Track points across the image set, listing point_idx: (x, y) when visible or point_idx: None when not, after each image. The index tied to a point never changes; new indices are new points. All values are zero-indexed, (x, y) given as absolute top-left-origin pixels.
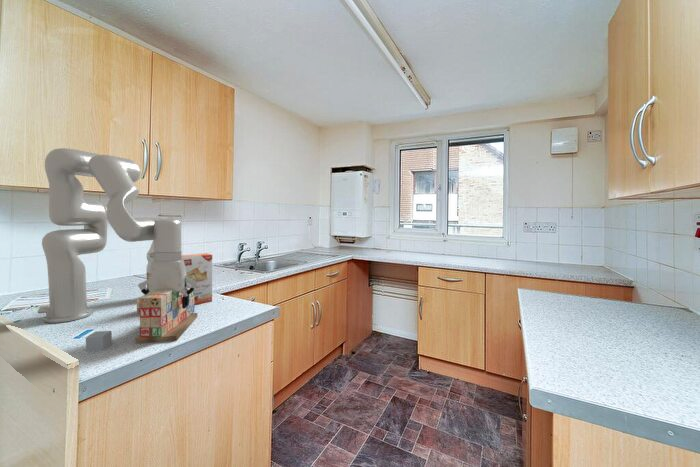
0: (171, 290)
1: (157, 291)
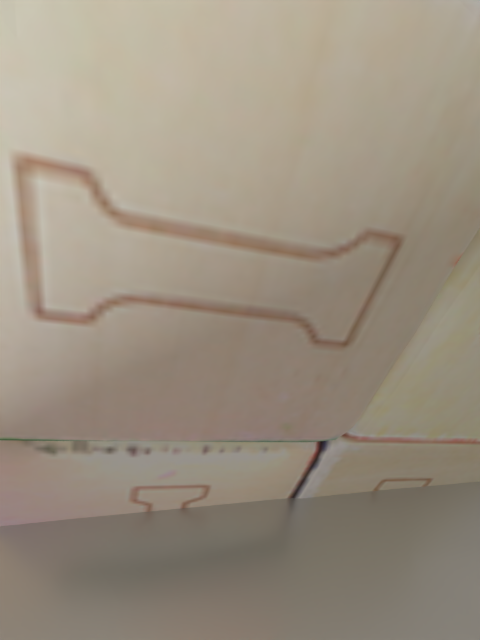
0: (73, 508)
1: (442, 440)
